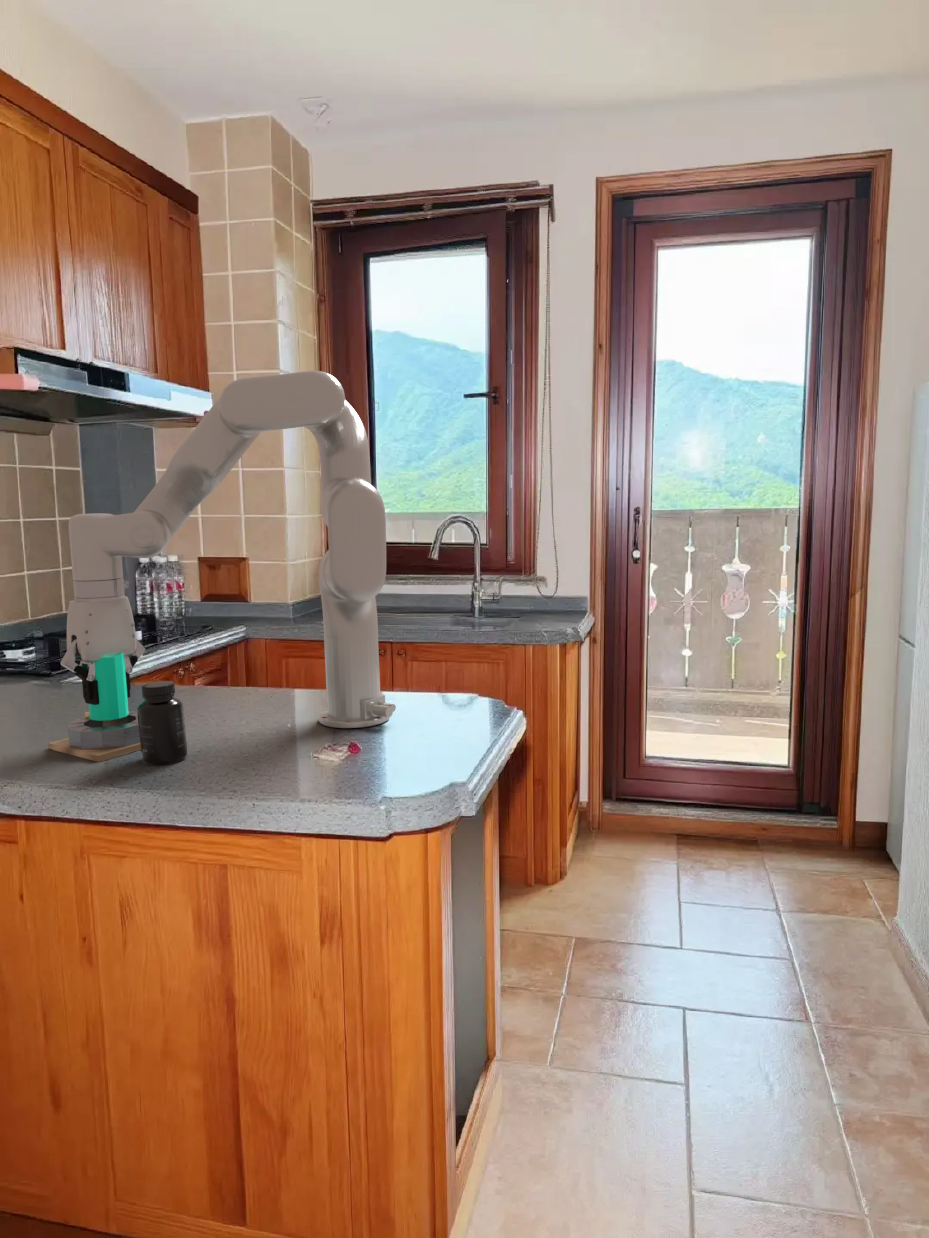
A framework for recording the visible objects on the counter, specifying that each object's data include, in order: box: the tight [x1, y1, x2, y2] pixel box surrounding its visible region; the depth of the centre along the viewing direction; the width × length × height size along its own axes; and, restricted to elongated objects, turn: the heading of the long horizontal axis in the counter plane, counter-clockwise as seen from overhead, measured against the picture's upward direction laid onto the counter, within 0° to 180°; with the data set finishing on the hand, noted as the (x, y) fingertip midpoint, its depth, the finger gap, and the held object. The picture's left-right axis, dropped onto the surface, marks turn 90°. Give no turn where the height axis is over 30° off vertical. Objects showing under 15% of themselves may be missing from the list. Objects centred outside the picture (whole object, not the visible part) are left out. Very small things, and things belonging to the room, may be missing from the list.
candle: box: [86, 653, 129, 721], centre depth 144 cm, size 6×6×12 cm
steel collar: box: [67, 710, 140, 750], centre depth 145 cm, size 13×13×4 cm
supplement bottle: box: [136, 680, 188, 766], centre depth 136 cm, size 7×7×12 cm
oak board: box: [47, 737, 141, 763], centre depth 145 cm, size 14×14×1 cm
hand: (107, 698), depth 144 cm, fingers closed on candle, 4 cm apart
